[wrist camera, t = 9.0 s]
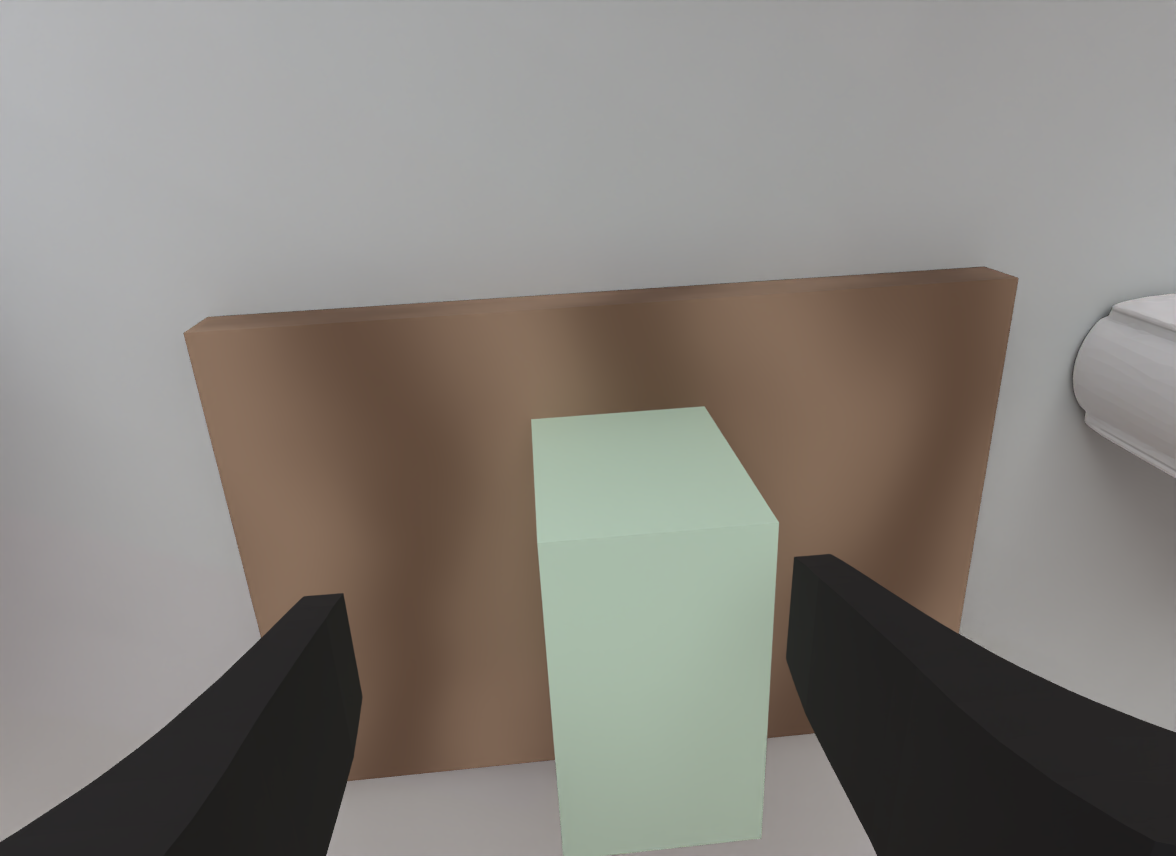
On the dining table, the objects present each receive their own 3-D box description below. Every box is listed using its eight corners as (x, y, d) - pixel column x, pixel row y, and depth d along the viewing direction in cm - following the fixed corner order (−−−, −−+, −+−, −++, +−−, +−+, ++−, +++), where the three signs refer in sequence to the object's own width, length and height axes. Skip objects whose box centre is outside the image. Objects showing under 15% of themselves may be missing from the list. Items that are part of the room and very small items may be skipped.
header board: (310, 748, 24) (275, 860, 21) (207, 317, 19) (133, 366, 15) (921, 687, 26) (988, 783, 22) (984, 266, 20) (1087, 300, 17)
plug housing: (551, 674, 22) (563, 860, 17) (531, 419, 19) (536, 542, 14) (701, 660, 23) (761, 838, 17) (704, 405, 20) (779, 522, 14)
